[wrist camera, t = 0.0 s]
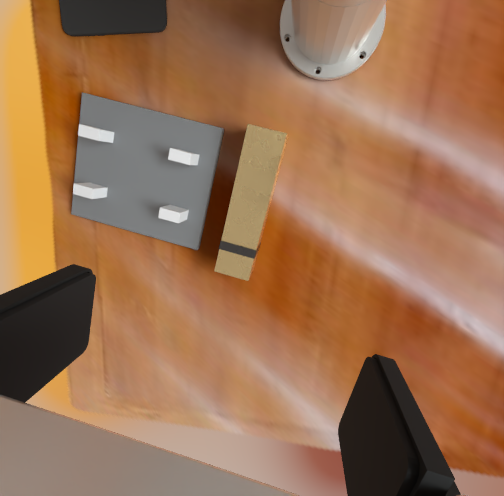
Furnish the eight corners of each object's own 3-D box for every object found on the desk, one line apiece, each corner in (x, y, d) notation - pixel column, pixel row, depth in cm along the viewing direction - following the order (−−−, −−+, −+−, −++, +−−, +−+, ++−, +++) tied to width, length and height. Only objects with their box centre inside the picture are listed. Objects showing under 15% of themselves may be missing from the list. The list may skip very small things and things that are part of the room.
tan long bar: (253, 128, 43) (247, 123, 39) (288, 137, 43) (287, 133, 38) (222, 261, 49) (213, 271, 44) (253, 270, 49) (248, 281, 44)
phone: (166, 31, 42) (62, 35, 43) (168, 33, 42) (67, 38, 44) (163, -35, 40) (55, -28, 42) (165, -31, 41) (60, -24, 42)
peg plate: (86, 94, 45) (64, 86, 41) (224, 129, 44) (216, 124, 40) (75, 213, 50) (54, 217, 46) (199, 248, 49) (189, 256, 44)
